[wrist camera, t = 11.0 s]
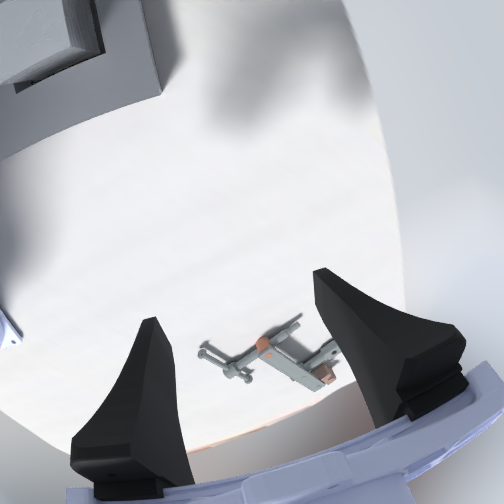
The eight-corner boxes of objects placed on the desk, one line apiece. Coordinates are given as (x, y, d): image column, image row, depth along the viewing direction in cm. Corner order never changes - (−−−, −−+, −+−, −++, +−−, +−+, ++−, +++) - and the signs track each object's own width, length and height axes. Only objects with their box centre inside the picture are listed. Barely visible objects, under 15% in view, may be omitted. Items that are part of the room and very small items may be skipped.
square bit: (42, 79, 14) (-4, 85, 9) (30, 25, 12) (-17, 15, 7) (100, 53, 14) (71, 46, 10) (88, -2, 12) (57, -28, 7)
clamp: (358, 365, 33) (287, 410, 35) (350, 351, 35) (282, 396, 37) (287, 299, 25) (196, 365, 27) (279, 282, 27) (193, 347, 29)
